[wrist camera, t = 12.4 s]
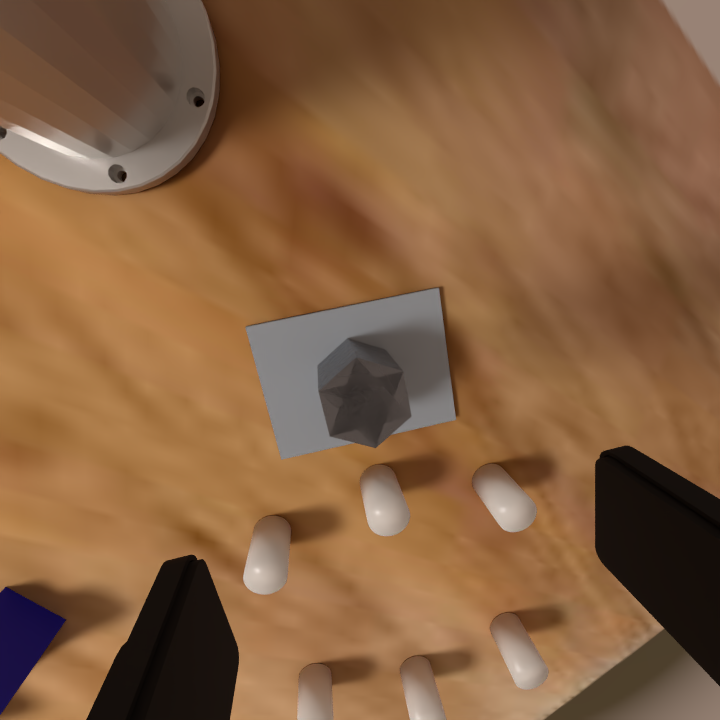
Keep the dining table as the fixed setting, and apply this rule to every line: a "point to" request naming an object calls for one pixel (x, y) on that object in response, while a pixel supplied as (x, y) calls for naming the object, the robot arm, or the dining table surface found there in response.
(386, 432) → the grey faceted polyhedron
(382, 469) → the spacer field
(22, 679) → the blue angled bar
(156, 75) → the robot arm
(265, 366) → the mat
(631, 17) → the dining table surface
